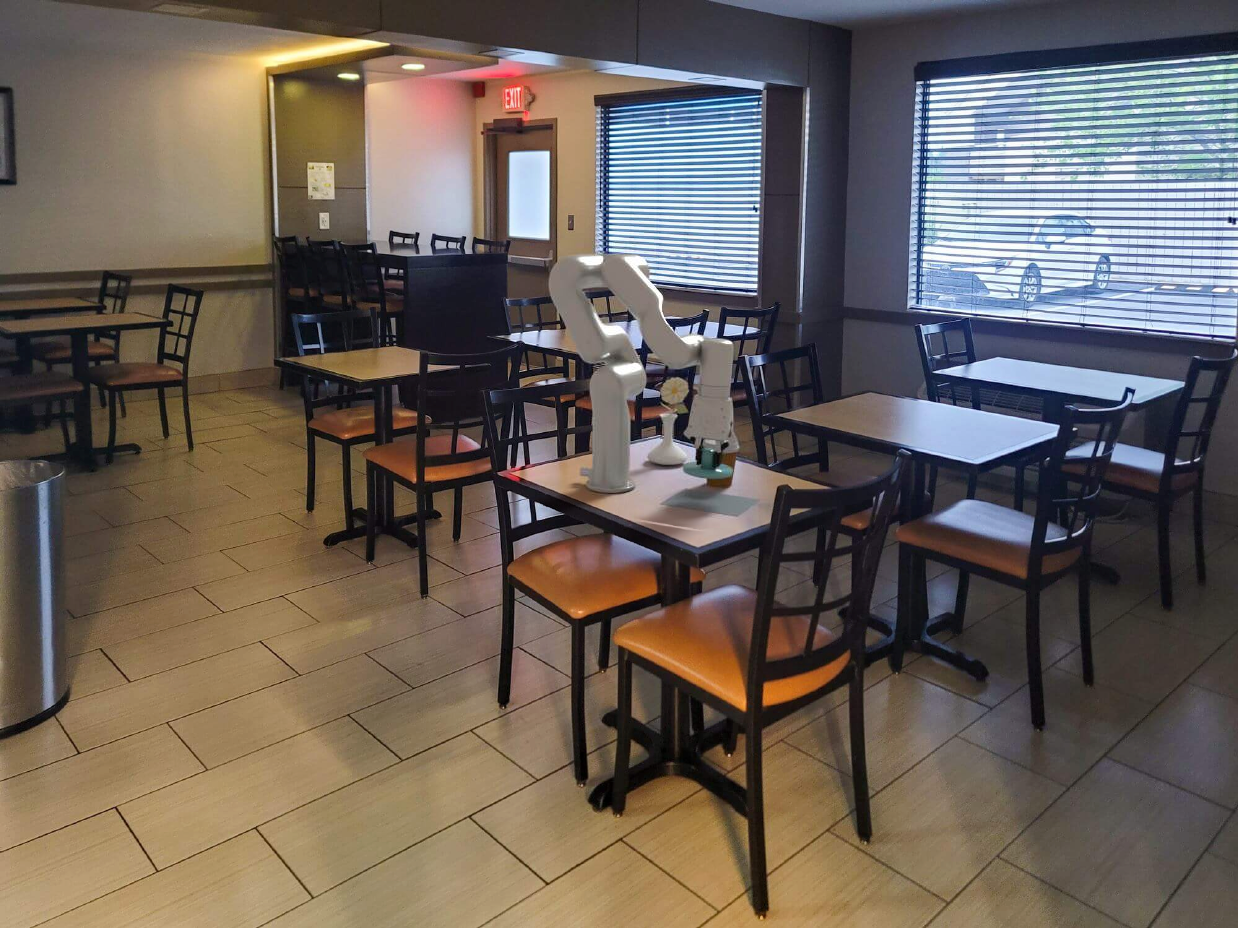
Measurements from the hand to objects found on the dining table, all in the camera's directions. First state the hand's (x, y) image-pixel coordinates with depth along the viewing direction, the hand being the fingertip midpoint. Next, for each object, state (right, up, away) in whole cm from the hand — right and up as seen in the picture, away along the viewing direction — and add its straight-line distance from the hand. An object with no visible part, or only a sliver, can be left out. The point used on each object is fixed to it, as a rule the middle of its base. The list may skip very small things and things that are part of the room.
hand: (708, 464), depth 240 cm
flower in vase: (-7, 0, +40) cm, 40 cm away
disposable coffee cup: (+4, -6, +18) cm, 19 cm away
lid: (0, -2, 0) cm, 2 cm away
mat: (+1, -9, +2) cm, 10 cm away
